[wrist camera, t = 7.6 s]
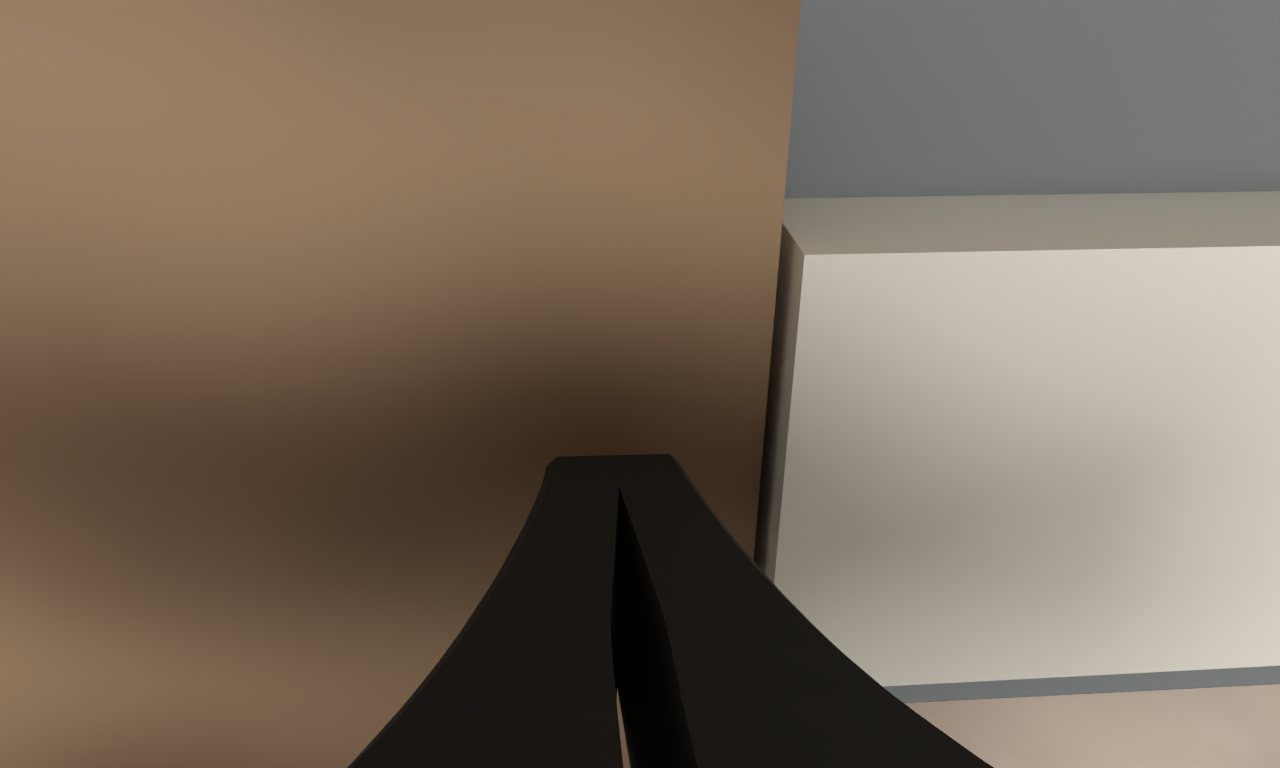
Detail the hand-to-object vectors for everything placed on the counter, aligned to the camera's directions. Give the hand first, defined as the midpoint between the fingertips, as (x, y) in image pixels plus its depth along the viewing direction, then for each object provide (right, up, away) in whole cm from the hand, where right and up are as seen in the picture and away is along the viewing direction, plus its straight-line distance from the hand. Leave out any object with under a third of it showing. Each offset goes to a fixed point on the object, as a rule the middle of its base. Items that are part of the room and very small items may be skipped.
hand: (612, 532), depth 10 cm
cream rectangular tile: (+6, +1, +3) cm, 7 cm away
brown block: (-3, +1, +2) cm, 4 cm away
